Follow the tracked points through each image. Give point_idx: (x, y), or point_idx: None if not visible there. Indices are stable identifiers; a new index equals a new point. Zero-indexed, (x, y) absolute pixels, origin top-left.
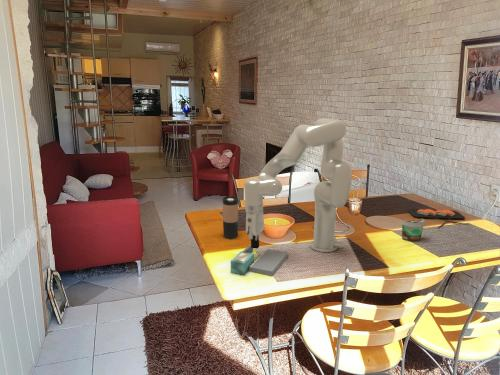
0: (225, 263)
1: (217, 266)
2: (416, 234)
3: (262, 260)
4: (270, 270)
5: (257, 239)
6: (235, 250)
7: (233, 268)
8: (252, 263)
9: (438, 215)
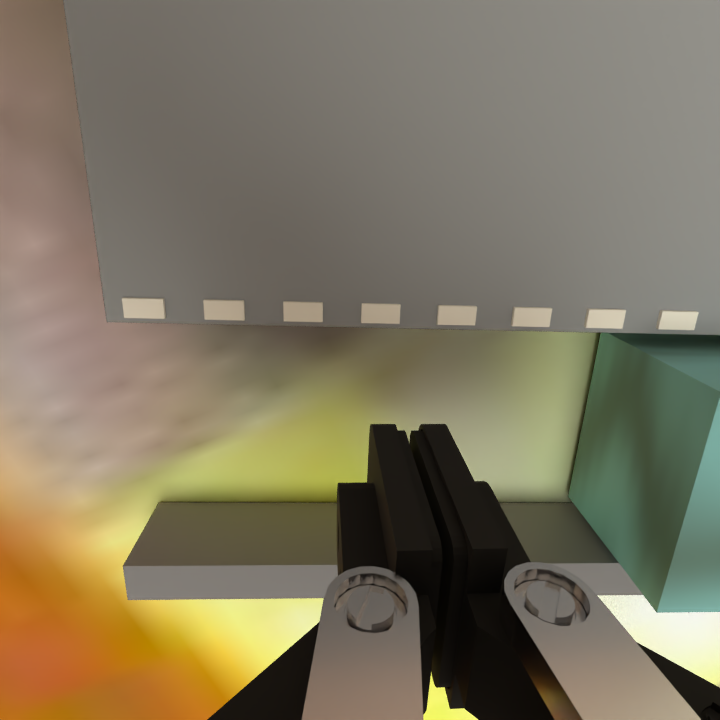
0: (625, 618)
1: (708, 650)
2: None
3: (594, 227)
4: None
5: (425, 572)
6: (270, 663)
7: None
8: (682, 343)
9: None
